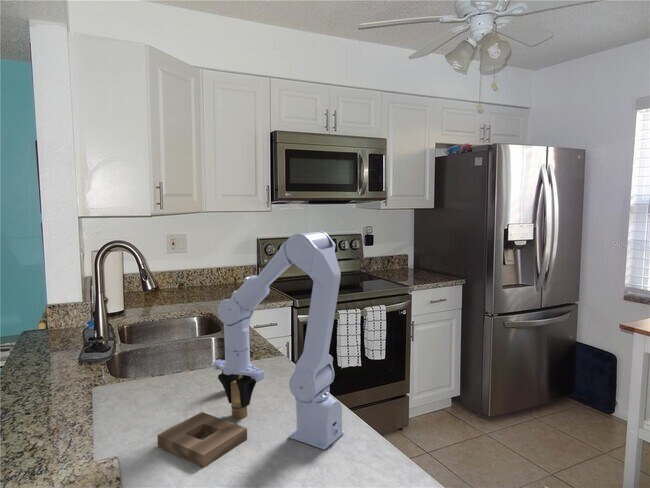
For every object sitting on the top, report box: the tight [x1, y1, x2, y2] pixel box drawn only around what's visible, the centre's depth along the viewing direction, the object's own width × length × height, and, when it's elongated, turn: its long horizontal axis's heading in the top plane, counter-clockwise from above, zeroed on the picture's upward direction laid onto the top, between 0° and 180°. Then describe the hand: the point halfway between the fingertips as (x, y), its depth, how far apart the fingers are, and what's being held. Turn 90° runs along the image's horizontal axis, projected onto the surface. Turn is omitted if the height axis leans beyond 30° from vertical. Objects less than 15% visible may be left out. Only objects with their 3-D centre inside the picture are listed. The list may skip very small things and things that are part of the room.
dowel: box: [230, 381, 248, 420], centre depth 107 cm, size 4×4×8 cm
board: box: [156, 411, 248, 468], centre depth 95 cm, size 14×12×2 cm
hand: (239, 403), depth 107 cm, fingers closed on dowel, 4 cm apart
